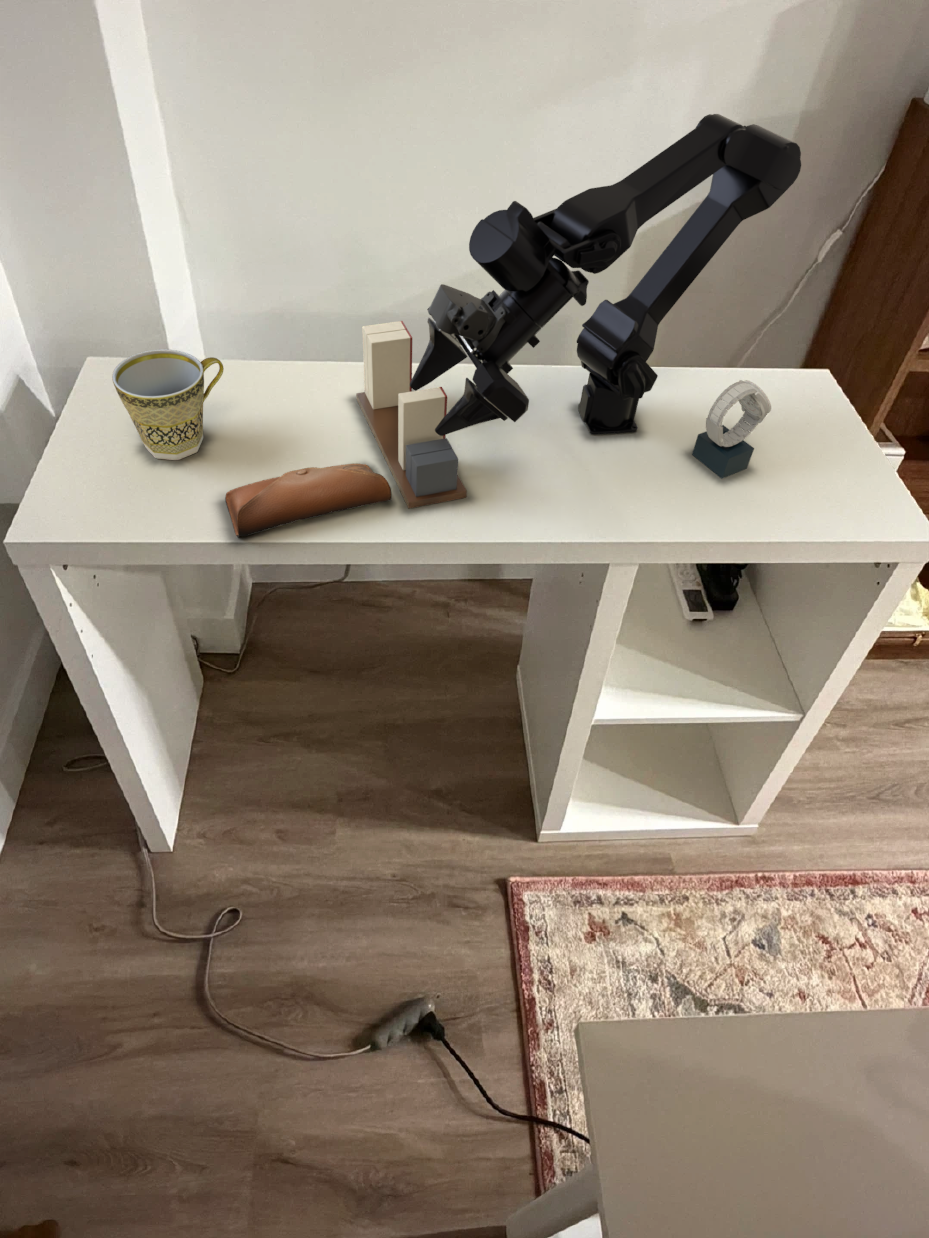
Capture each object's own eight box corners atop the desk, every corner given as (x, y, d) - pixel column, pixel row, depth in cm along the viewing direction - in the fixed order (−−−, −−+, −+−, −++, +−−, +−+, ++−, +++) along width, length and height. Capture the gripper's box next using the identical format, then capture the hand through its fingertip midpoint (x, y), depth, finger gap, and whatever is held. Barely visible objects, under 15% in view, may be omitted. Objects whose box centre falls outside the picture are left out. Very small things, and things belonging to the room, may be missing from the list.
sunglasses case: (367, 459, 104) (376, 437, 98) (385, 513, 104) (395, 493, 97) (219, 493, 99) (219, 471, 93) (237, 550, 98) (238, 532, 92)
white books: (402, 386, 115) (402, 320, 108) (411, 403, 112) (412, 337, 105) (364, 392, 113) (362, 326, 106) (373, 410, 111) (371, 343, 104)
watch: (757, 464, 109) (786, 389, 101) (711, 483, 106) (737, 407, 98) (726, 440, 112) (752, 365, 104) (681, 458, 109) (704, 382, 101)
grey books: (445, 468, 104) (446, 437, 100) (456, 489, 101) (458, 458, 98) (405, 475, 102) (405, 444, 99) (416, 497, 100) (416, 466, 96)
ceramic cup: (157, 480, 101) (138, 408, 93) (117, 439, 105) (96, 366, 98) (253, 440, 107) (242, 369, 99) (211, 402, 111) (198, 332, 104)
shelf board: (408, 391, 116) (408, 385, 115) (466, 497, 102) (467, 491, 101) (356, 399, 114) (356, 393, 113) (408, 508, 100) (408, 502, 99)
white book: (438, 453, 105) (441, 386, 98) (444, 463, 104) (447, 396, 97) (398, 460, 104) (398, 393, 97) (403, 471, 103) (403, 403, 96)
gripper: (448, 224, 93) (352, 329, 99) (513, 308, 82) (401, 422, 87) (507, 285, 101) (416, 380, 107) (574, 369, 90) (469, 471, 95)
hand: (424, 410), depth 99 cm, fingers open, 9 cm apart
